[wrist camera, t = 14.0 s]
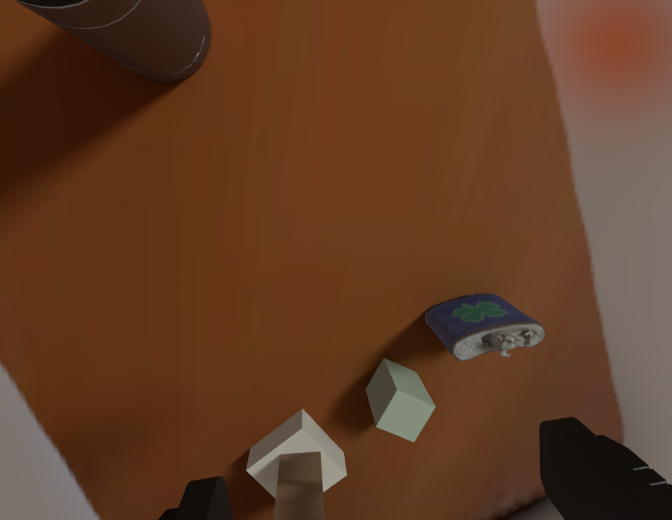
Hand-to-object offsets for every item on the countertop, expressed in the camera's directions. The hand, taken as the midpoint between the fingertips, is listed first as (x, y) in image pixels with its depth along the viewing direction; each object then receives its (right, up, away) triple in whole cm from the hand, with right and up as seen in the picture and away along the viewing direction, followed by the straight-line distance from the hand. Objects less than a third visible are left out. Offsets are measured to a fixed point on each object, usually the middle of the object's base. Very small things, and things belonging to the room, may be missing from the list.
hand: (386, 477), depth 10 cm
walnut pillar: (-5, -18, +34) cm, 39 cm away
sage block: (+5, -9, +36) cm, 38 cm away
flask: (+13, 0, +35) cm, 38 cm away
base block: (-6, -18, +38) cm, 42 cm away
